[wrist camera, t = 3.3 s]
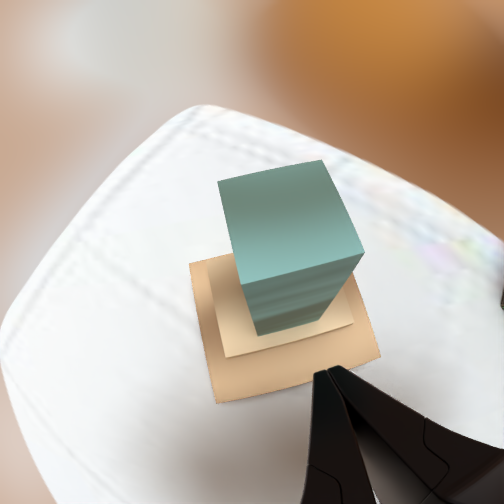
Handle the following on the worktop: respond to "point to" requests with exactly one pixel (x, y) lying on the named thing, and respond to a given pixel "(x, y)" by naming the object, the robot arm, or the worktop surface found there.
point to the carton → (279, 348)
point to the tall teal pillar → (283, 259)
